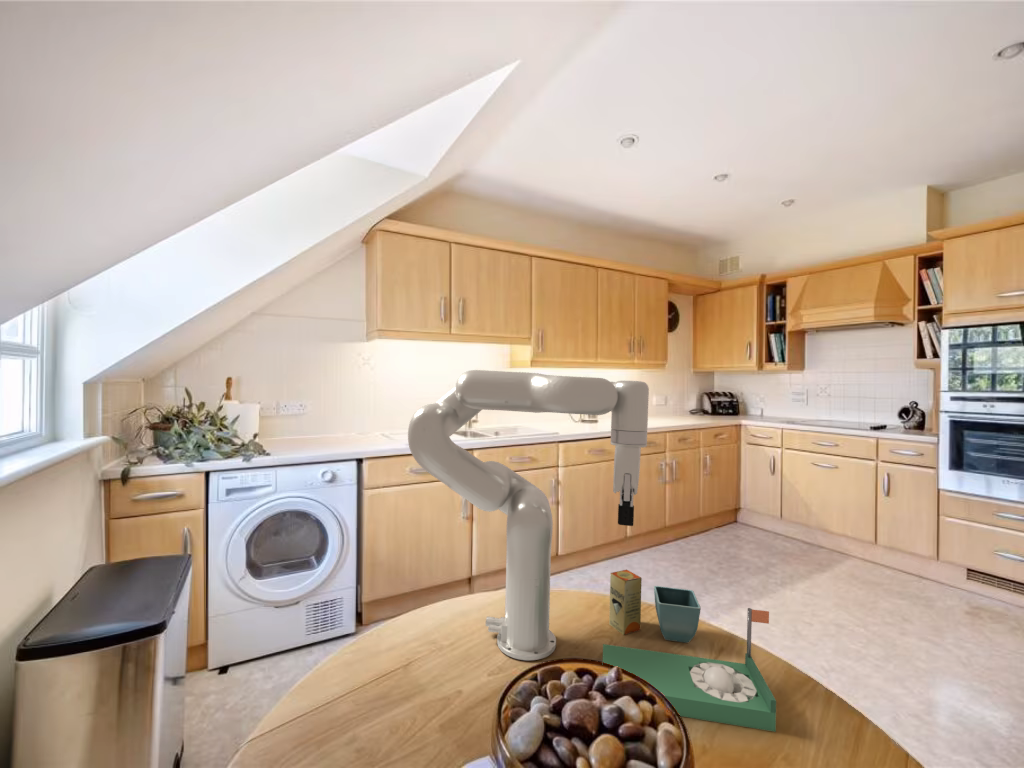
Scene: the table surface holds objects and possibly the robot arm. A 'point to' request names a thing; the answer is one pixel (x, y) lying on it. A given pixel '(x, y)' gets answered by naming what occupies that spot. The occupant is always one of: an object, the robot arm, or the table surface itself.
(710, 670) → the ball
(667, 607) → the flower pot
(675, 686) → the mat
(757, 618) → the flag
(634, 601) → the shoe polish box
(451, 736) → the table surface
